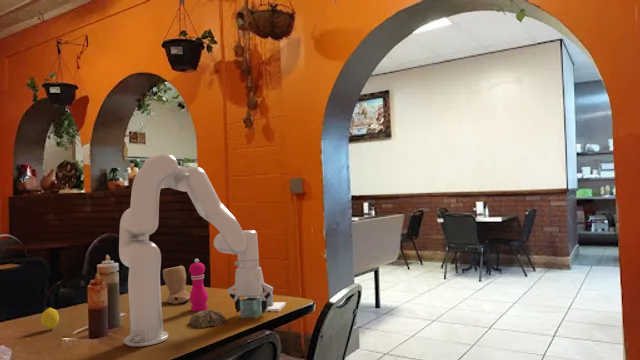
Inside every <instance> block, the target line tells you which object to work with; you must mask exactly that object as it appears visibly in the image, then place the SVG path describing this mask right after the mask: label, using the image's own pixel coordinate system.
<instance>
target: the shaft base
mask: <svg viewBox="0 0 640 360" xmlns="http://www.w3.org/2000/svg"><path fill="white" fill-rule="evenodd" d="M267 293H268V289H265V294H267ZM286 305H287V302H286V301H278V302H277V301H276V302H274V293H273V291H272V293H271V295H270V296H269V297H268V299H267V309H266V311H264V312H263V313H265V312H268V311H271V312H280V311H281V310H282V309H283V308H284V307H286Z"/></svg>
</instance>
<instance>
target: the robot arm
mask: <svg viewBox="0 0 640 360" xmlns="http://www.w3.org/2000/svg"><path fill="white" fill-rule="evenodd" d="M178 164H179V163H178V160H177V159H176V157H175V156H174V155H172V154H169V153H159V154H156V155H154V156H150V157H149V158H147V159H145V161H144V162H143V163H142V166H141V168H140V169H139V170H138V172H137V173H136V175H135V178H134V179H133V182H132V186H131V194H130V195H131V196H130V205H129V206H130V207H128V209H126V210H125V211H124V212H123V213H122V214H121V217H120V221H119V239H118V242H119V243H118V253H119V255H118V256H119V259H120V262H121V263H122V264H123V265H124V266H126V267H127V268H128V279H127V280H128V281H127V284H128V285H127V286H128V288H127V289H128V305H129V321H130V323H129V324H130V330H129V335H127V336H126V337H124V338H123V343H124V344H125V345H127V346H130V347H147V346H154V345H156V344H159V343H163V342H164V341H166V340H167V339H168V338H169V332H167V331H165V330H164V328H163V327H164V326H163V310H162V289H161V265H162V254H161V250H160V248H159V247H158V245H157V244H155V243H154V242H153V241H150V240H149V239H150V235H152V234H153V233H155V232H156V230H157V229H158V228H159V220H160V219H159V217H160V214H159V213H160V210H159V209H160V194H161V193H160V192H161V189H162V187H163V186H164V187H166V188H170V189H173V190H175V191H176V190H177V191H181V192H186V193H187V195H188V196H189V198H190V199H191V200H190V201H191V202H192V204H193V205H194V208H195V209H196V211H197V213H198V214H199V216H200V217H202V219H204V220H205V221H207V222H209V223H210V224H212V225H213V226H214V227H215V228H216V229H217V230H218V232H219V233H218V234H217V235H216V236H215V237H214V239H213V247H214V248H215V250H217V251H218V252H220V253H222V254H231V255H237V261H234V266H237V268H236V269H235V274H234V275H235V277H234V278H235V279H234V285H232V286H230V287H229V288H227V290H226V291H227V293H228V295H229V297H230V298H231V299H232V300H233V302H234V307H235V308H234V309H235V310H236V312H235V313H239V312H241V309H240V301H241V300H242V299H240V298H243V297H244V298H245V297H261V306H262V313H265V312H264V311H266V309H267V299H268V297H269V296H270V295H271V293H272V292H273V290H274V287H273V286H271V285H270V284H267V283H265V280H264V275H263V271H262V267H261V266H260V260H259V259H260V257H259V244H258V243H259V242H258V232H257V231H256V230H255V229H254V230H253V229H247V230H246V229H245V230H243V229H242V227H241V224H240V223H239V221H238V220H237V218H236V217H235V216H234V215H233V214H232V213H231V212H230V211H229V209H228V208H227V207H226V206H225V205H224V203H222V202H221V200H220V198H219V196H218V194H217V192H216V190H215V188H214V186H213V185H212V182H211V180H210V179H209V176H208V174H207V173H206V172H205V170H204V169H203V168H201V167H200V166H187V167H185V166H180V165H178ZM267 289H268V293H267V294H266V290H267Z"/></svg>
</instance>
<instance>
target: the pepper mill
mask: <svg viewBox="0 0 640 360" xmlns="http://www.w3.org/2000/svg"><path fill="white" fill-rule="evenodd" d="M188 270H189V273H190V274H191V276H190V277H191V278H190V279H191V281H192V287H191V290H190V292H191V293H190V297H189V299H188V301H189V302H190V304H191V306H190V309H191V311H192V312H200V311H203V310H208V303H207V302H208V300H209V294H208V292H207V290H206V288H205V287H206V286H205V285H204V279H205V274H204V273H205V272H206V271H205V270H206V266H205V264H203V263H202V262H200V260H199V259H198V258H195V259H194V262H193V263H192V264H190V265H189V268H188Z"/></svg>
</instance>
